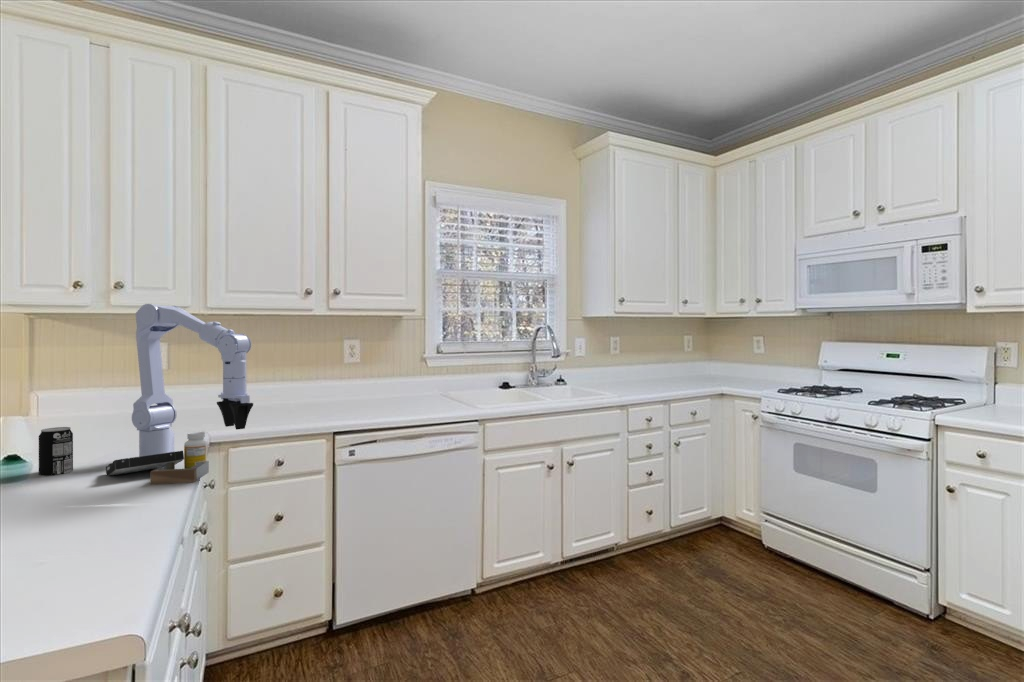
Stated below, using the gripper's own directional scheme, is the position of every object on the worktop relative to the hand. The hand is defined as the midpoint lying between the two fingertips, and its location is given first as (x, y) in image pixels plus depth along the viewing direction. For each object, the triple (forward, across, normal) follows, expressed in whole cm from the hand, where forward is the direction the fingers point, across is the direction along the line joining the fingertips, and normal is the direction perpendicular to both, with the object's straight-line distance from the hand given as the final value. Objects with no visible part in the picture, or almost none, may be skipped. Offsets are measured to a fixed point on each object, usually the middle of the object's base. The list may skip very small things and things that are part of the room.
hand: (234, 427), depth 145 cm
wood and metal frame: (+10, +3, -14) cm, 18 cm away
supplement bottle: (+11, -4, -8) cm, 14 cm away
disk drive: (+8, -8, -26) cm, 29 cm away
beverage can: (+11, -22, -34) cm, 42 cm away
